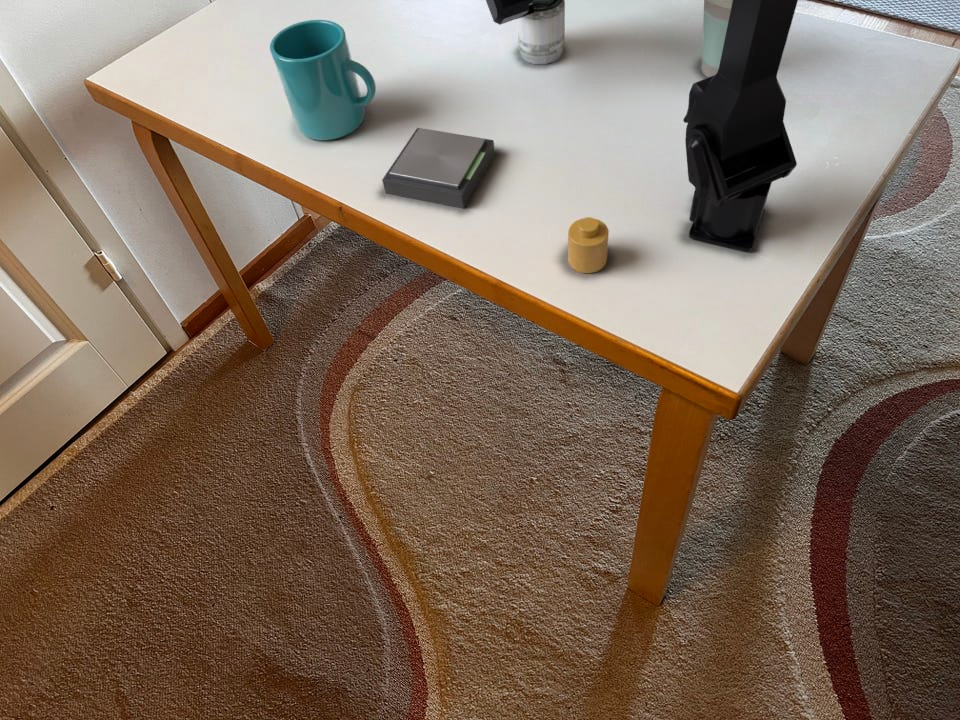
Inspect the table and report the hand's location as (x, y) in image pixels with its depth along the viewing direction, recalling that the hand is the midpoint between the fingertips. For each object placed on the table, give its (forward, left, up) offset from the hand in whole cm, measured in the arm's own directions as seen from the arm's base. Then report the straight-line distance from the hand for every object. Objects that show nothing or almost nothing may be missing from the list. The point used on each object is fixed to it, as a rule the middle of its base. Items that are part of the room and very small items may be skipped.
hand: (535, 1), depth 94 cm
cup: (+18, +23, -7) cm, 30 cm away
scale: (+1, +28, -7) cm, 29 cm away
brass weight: (-20, +35, -7) cm, 41 cm away
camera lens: (-1, +1, -7) cm, 7 cm away
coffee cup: (-25, -2, -7) cm, 26 cm away
